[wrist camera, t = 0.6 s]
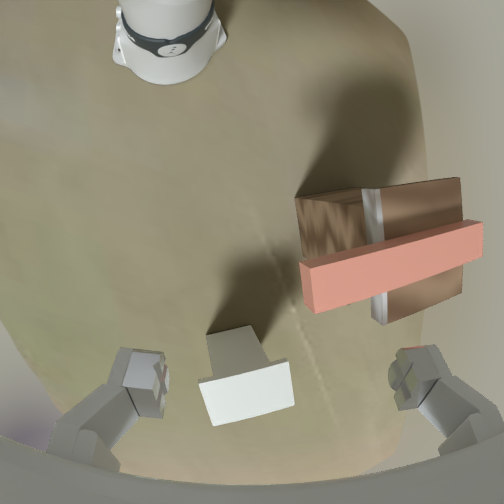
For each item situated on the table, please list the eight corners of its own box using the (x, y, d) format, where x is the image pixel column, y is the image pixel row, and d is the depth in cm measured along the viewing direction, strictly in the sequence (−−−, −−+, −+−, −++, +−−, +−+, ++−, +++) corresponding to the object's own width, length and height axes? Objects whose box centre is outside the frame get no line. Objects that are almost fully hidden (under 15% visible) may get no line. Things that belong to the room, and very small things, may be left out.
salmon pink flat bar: (298, 261, 28) (309, 268, 25) (467, 219, 31) (482, 222, 29) (304, 303, 29) (315, 314, 26) (468, 252, 32) (482, 256, 30)
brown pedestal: (289, 186, 52) (374, 189, 28) (355, 176, 54) (459, 177, 30) (301, 268, 55) (382, 325, 31) (363, 252, 57) (461, 292, 33)
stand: (193, 332, 53) (198, 383, 39) (260, 317, 55) (288, 361, 41) (203, 370, 55) (213, 426, 40) (267, 355, 57) (294, 405, 42)
